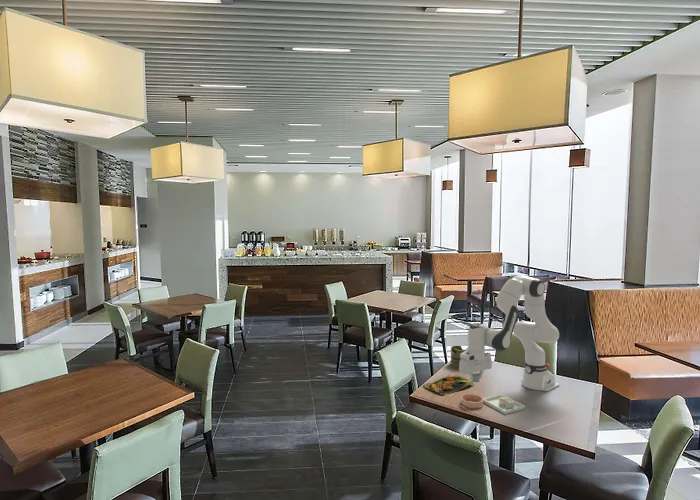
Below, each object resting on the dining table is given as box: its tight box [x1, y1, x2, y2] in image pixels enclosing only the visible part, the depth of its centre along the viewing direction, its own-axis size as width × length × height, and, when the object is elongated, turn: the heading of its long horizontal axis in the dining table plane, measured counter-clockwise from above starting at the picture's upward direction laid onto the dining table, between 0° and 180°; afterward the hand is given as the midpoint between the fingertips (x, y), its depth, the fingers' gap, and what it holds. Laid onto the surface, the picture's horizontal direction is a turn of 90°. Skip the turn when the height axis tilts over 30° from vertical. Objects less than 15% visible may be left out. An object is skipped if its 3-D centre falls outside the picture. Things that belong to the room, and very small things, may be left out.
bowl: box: [460, 393, 485, 409], centre depth 224 cm, size 12×12×4 cm
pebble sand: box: [499, 397, 507, 407], centre depth 221 cm, size 4×4×4 cm
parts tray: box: [482, 393, 526, 415], centre depth 221 cm, size 14×17×2 cm
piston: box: [450, 345, 468, 368], centre depth 287 cm, size 11×12×11 cm
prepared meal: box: [422, 374, 475, 397], centre depth 249 cm, size 28×4×18 cm
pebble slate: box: [471, 372, 481, 383], centre depth 220 cm, size 4×4×4 cm
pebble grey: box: [506, 400, 514, 410], centre depth 217 cm, size 4×4×4 cm
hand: (475, 378), depth 220 cm, fingers closed on pebble slate, 4 cm apart
